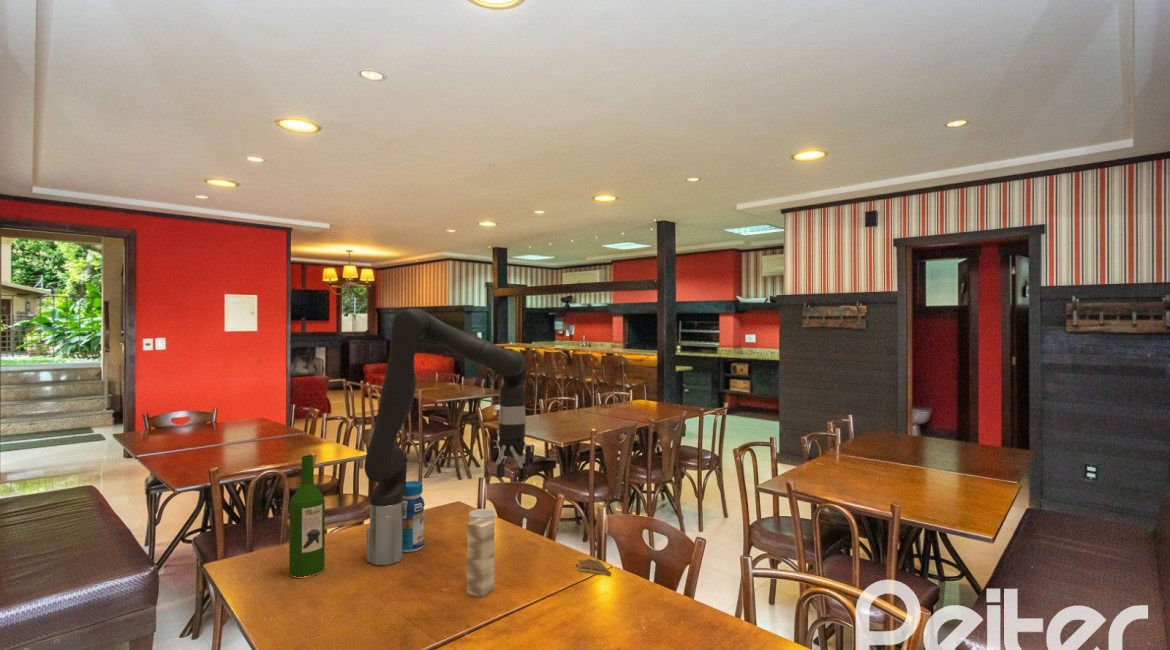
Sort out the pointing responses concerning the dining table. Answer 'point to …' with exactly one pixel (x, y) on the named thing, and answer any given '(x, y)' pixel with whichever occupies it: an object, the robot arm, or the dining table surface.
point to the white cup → (481, 514)
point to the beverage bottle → (413, 517)
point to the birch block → (480, 557)
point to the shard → (592, 567)
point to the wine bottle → (307, 525)
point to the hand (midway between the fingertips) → (511, 478)
